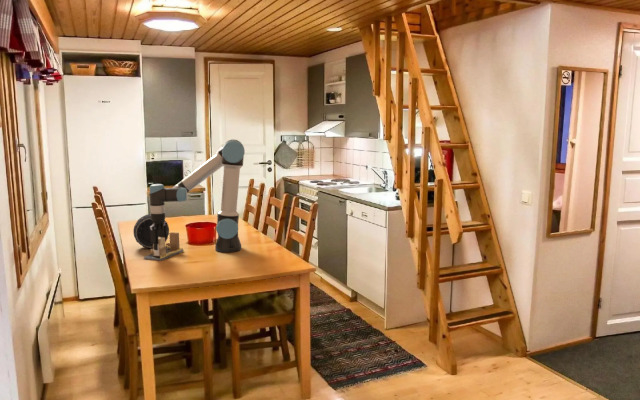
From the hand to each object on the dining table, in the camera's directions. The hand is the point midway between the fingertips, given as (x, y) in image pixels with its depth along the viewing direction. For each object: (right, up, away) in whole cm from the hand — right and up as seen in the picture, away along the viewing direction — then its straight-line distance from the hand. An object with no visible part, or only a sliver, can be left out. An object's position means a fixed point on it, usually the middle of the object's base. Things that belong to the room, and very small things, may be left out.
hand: (159, 254), depth 278 cm
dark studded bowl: (-12, +1, +23) cm, 26 cm away
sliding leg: (-1, -1, +1) cm, 2 cm away
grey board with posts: (0, -1, +6) cm, 6 cm away
